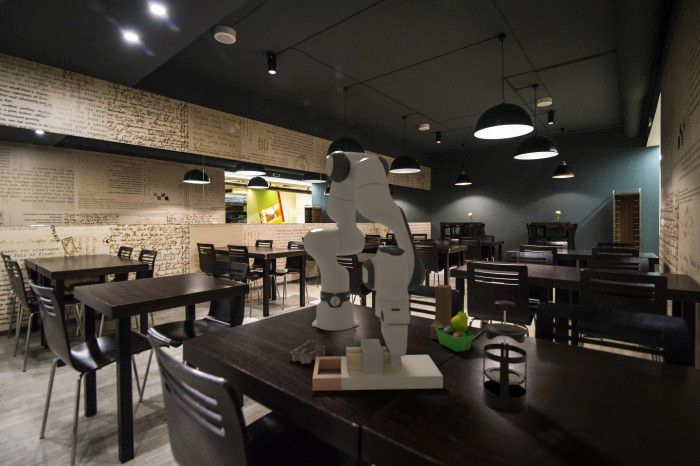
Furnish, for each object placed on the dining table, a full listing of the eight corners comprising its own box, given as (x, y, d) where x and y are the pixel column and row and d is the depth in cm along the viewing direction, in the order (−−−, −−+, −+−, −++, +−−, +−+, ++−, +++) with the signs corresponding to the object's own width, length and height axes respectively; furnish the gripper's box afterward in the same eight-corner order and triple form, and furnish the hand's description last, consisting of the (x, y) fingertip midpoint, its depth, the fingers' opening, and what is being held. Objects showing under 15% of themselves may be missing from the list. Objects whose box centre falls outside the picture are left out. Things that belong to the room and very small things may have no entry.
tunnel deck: (316, 367, 99) (316, 337, 98) (428, 365, 100) (428, 336, 99) (312, 390, 85) (312, 356, 84) (442, 388, 86) (442, 354, 85)
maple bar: (346, 361, 95) (346, 347, 95) (397, 360, 95) (397, 346, 95) (346, 370, 89) (346, 355, 89) (401, 370, 89) (401, 354, 89)
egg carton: (311, 350, 113) (311, 337, 113) (329, 355, 108) (329, 342, 108) (287, 360, 104) (287, 346, 104) (305, 366, 100) (305, 352, 100)
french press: (528, 419, 72) (529, 308, 71) (480, 409, 76) (480, 304, 75) (526, 394, 82) (526, 297, 82) (483, 386, 86) (484, 294, 86)
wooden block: (441, 341, 120) (441, 289, 120) (429, 338, 123) (429, 287, 122) (451, 334, 127) (451, 285, 127) (439, 332, 130) (440, 284, 129)
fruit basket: (434, 342, 119) (434, 309, 118) (455, 339, 122) (455, 307, 122) (455, 354, 108) (455, 318, 108) (478, 350, 111) (478, 315, 111)
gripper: (376, 300, 102) (376, 346, 102) (385, 319, 82) (385, 377, 82) (397, 300, 102) (397, 346, 103) (411, 318, 82) (411, 376, 82)
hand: (392, 360), depth 92 cm, fingers closed on maple bar, 6 cm apart
